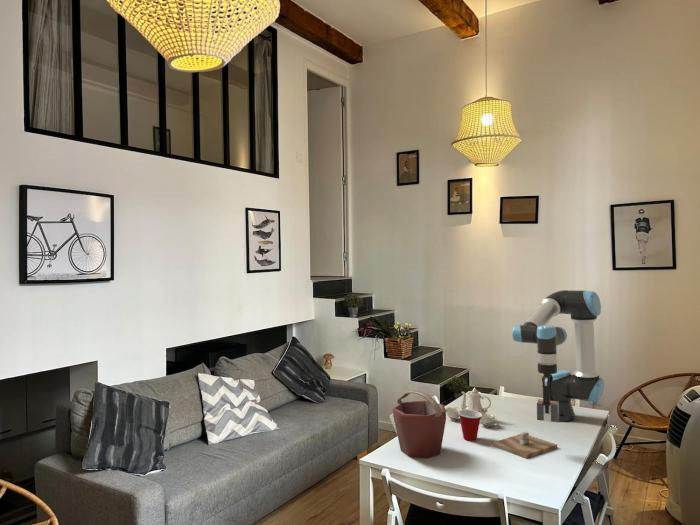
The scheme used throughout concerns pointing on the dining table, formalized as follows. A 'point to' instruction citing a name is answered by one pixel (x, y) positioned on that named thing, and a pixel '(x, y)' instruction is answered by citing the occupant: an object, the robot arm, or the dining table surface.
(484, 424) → the chinaware
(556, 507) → the dining table surface
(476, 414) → the plastic cup
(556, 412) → the grey box
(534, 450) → the hub base
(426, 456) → the bucket
